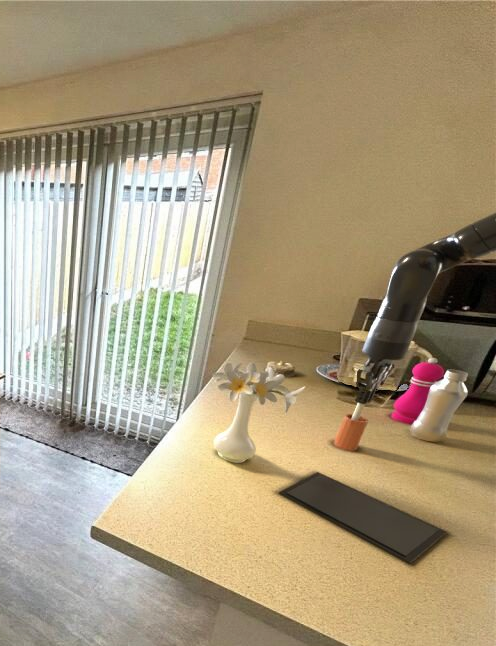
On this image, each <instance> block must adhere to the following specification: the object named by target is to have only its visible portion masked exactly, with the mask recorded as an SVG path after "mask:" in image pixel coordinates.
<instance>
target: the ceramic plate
mask: <svg viewBox="0 0 496 646" xmlns="http://www.w3.org/2000/svg"><path fill="white" fill-rule="evenodd" d="M339 364H340V363H329V364H321V365H319V366H317V367H316V372H317V374H319V375H320V376H321V377H324V378H326V379H328V380H329V381H334V382H336V383H339V382H338V378H337V375H338V368H339ZM407 388H408V385H407V384H403V385H401V386H400V387H399V389H398V390H397V391H396V392H403V391H408V389H407Z"/></svg>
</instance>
